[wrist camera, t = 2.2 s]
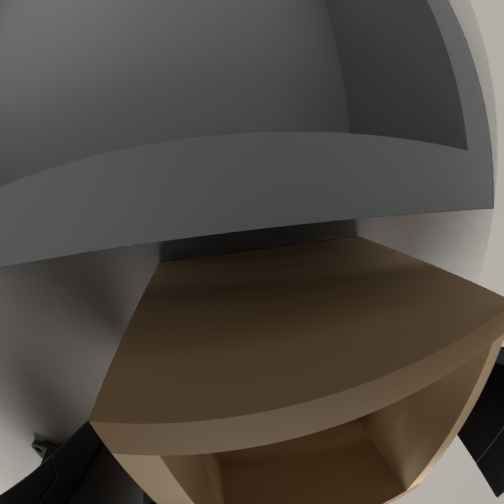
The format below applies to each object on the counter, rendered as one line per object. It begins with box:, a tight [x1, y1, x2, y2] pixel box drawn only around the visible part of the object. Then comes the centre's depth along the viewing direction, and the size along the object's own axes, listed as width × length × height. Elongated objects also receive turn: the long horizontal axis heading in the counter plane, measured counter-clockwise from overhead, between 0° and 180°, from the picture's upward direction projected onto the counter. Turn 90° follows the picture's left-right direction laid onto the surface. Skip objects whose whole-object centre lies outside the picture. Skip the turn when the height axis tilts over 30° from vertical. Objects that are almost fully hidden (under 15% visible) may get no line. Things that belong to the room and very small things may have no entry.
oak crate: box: [89, 237, 504, 504], centre depth 6 cm, size 7×6×6 cm
